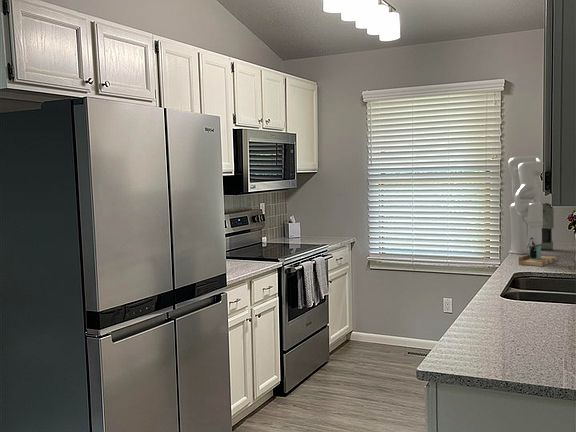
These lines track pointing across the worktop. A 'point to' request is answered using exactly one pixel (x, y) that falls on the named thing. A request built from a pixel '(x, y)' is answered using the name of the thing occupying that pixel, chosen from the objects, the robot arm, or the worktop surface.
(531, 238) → the robot arm
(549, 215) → the device
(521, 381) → the worktop surface
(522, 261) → the board
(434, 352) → the worktop surface
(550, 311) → the worktop surface
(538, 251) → the teal upright block
